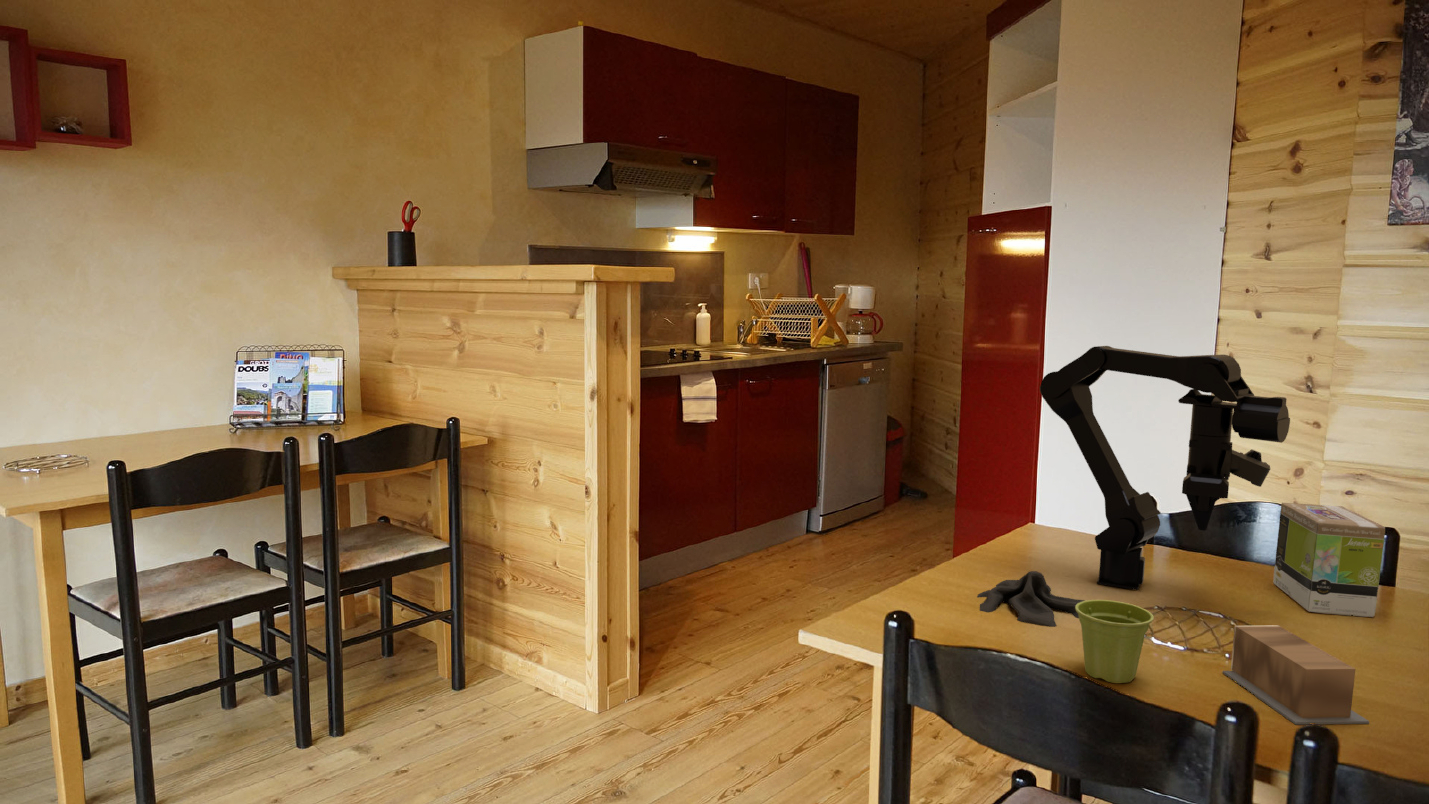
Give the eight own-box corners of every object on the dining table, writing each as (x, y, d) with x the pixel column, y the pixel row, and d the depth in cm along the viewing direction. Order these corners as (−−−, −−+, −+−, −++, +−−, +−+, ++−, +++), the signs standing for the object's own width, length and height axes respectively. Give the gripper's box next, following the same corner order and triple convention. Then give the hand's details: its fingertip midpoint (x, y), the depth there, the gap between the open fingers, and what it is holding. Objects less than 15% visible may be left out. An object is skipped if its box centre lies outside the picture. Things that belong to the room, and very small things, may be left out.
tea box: (1378, 619, 146) (1388, 526, 144) (1306, 613, 148) (1315, 522, 146) (1335, 588, 160) (1344, 503, 158) (1270, 583, 162) (1278, 500, 160)
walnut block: (1234, 625, 124) (1306, 669, 110) (1278, 625, 124) (1355, 668, 111) (1230, 668, 125) (1301, 717, 111) (1274, 668, 125) (1350, 717, 111)
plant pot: (1059, 660, 128) (1063, 599, 127) (1125, 659, 128) (1129, 598, 127) (1092, 690, 118) (1096, 624, 117) (1163, 689, 119) (1168, 623, 118)
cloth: (1022, 580, 164) (1024, 546, 163) (1118, 613, 148) (1120, 575, 147) (930, 602, 152) (932, 566, 151) (1024, 640, 136) (1026, 599, 135)
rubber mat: (1222, 673, 124) (1222, 670, 124) (1287, 672, 125) (1288, 670, 125) (1295, 724, 110) (1295, 722, 110) (1369, 723, 110) (1369, 721, 110)
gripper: (1271, 447, 137) (1261, 551, 139) (1267, 430, 153) (1259, 524, 155) (1186, 440, 142) (1178, 540, 144) (1191, 424, 158) (1183, 515, 160)
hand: (1202, 529), depth 151 cm, fingers closed
